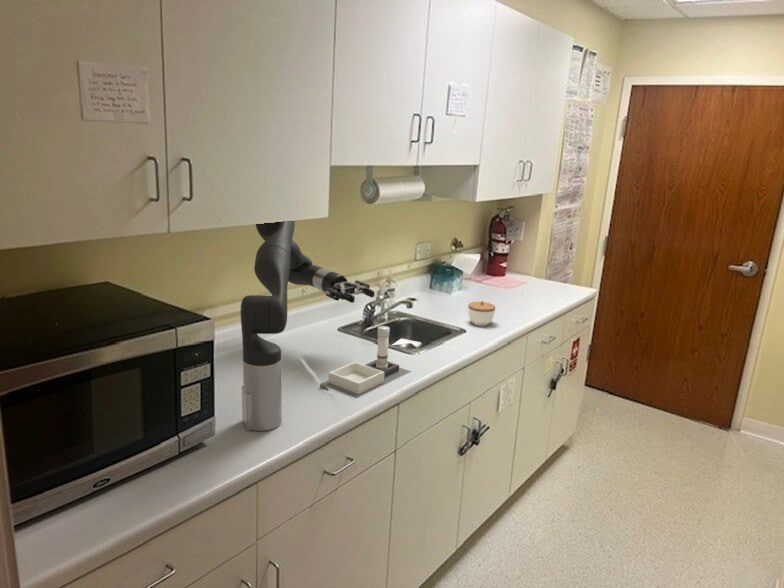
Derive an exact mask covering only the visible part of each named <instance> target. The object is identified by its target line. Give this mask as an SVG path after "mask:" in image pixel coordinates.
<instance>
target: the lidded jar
mask: <svg viewBox="0 0 784 588" xmlns="http://www.w3.org/2000/svg"><path fill="white" fill-rule="evenodd" d="M467 306H468V310H467V311H468V317H469V320H470V321H471V323H472V324H473V325H475V326H478V327H486V325H487V326H488V325H489V324H490V323H492V320H493V319H494V317H495V312H496V311H495V310H496V305H494V304H492V303H490V302H484V301H483V300H482V301H472V302H469V303H468V305H467Z"/></svg>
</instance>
